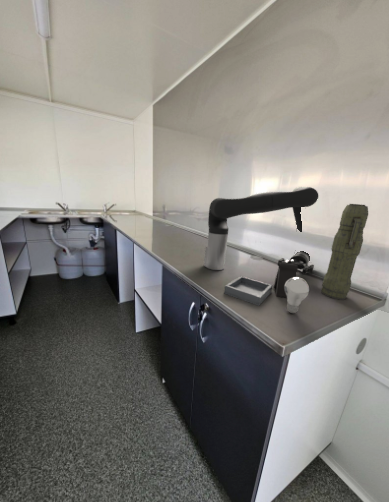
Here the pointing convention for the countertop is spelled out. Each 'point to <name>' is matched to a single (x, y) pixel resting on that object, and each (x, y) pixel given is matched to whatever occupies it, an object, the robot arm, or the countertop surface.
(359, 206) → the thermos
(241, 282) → the tray
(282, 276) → the door stopper
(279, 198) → the robot arm
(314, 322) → the countertop surface
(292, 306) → the light bulb
